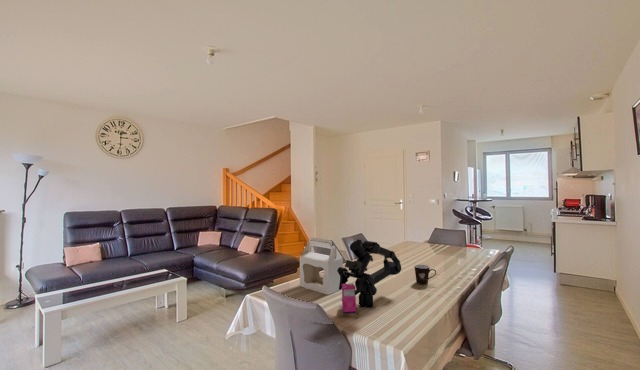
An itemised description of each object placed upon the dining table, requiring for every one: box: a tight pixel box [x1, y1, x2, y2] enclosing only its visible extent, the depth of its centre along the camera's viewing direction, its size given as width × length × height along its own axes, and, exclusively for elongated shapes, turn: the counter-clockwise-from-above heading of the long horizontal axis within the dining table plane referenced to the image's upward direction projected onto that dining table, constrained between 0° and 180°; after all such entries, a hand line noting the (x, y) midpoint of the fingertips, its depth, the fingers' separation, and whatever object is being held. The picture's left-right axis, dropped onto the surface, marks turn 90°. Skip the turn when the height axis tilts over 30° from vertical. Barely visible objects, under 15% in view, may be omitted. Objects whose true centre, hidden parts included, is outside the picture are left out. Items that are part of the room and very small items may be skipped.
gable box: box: [299, 237, 344, 296], centre depth 172 cm, size 22×13×28 cm, turn 50°
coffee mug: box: [414, 264, 437, 286], centre depth 178 cm, size 12×9×10 cm
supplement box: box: [341, 283, 357, 313], centre depth 137 cm, size 6×6×12 cm
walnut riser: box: [337, 305, 360, 319], centre depth 137 cm, size 9×9×2 cm
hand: (347, 292), depth 136 cm, fingers open, 9 cm apart
